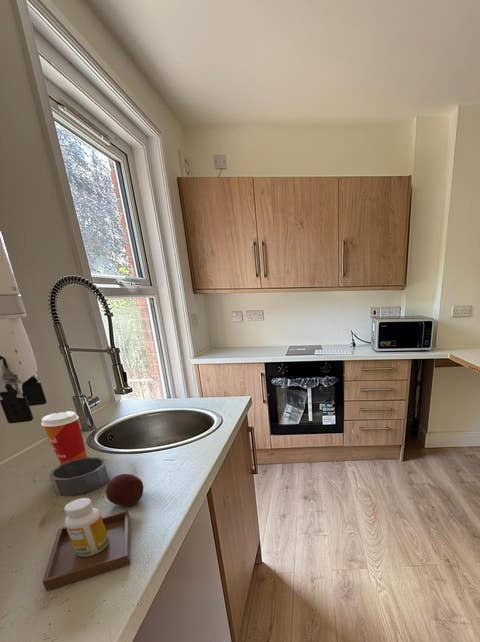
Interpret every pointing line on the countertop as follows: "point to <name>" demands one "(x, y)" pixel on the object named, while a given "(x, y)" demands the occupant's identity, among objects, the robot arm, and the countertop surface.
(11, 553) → the countertop surface
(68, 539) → the tray
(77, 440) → the coffee cup
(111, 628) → the countertop surface
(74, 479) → the grey round bowl
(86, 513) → the supplement bottle
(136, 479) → the dark red plum
